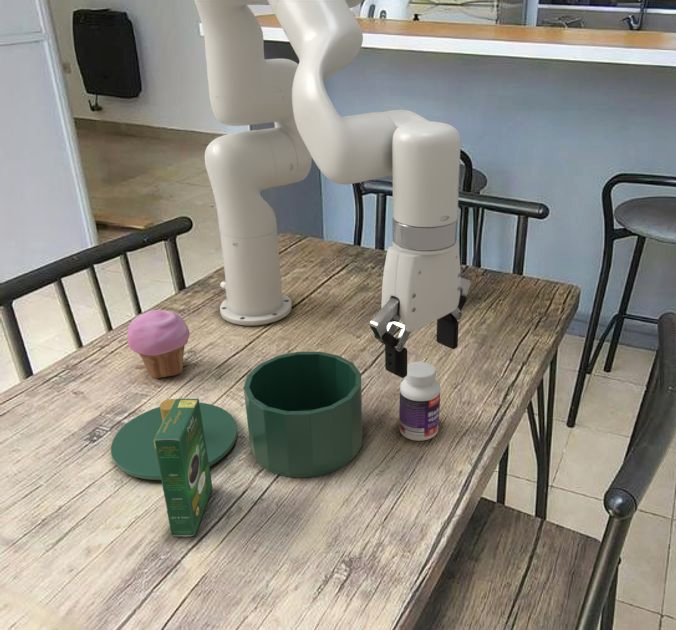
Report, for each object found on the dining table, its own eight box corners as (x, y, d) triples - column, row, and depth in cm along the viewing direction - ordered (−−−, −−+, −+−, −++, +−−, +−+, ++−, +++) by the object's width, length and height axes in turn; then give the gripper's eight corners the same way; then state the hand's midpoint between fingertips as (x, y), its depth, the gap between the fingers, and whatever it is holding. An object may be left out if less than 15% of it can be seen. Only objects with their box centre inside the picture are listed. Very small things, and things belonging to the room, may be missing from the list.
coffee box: (190, 486, 82) (174, 395, 76) (214, 487, 82) (200, 395, 76) (169, 537, 74) (150, 441, 68) (196, 537, 75) (179, 441, 68)
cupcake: (200, 378, 103) (191, 320, 98) (139, 392, 99) (127, 332, 94) (188, 351, 110) (179, 295, 105) (130, 364, 106) (119, 306, 101)
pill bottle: (434, 444, 90) (437, 382, 85) (395, 439, 91) (395, 377, 86) (441, 420, 94) (444, 360, 90) (404, 415, 95) (404, 355, 91)
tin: (229, 442, 89) (221, 381, 85) (314, 397, 99) (310, 340, 95) (299, 494, 81) (294, 429, 76) (384, 440, 90) (384, 379, 86)
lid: (90, 444, 88) (80, 405, 85) (196, 396, 99) (191, 359, 96) (151, 502, 79) (143, 460, 76) (261, 442, 89) (257, 403, 87)
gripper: (447, 208, 87) (443, 326, 95) (348, 243, 76) (352, 374, 84) (494, 222, 83) (486, 344, 91) (396, 261, 71) (396, 397, 79)
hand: (422, 358), depth 87 cm, fingers open, 9 cm apart
